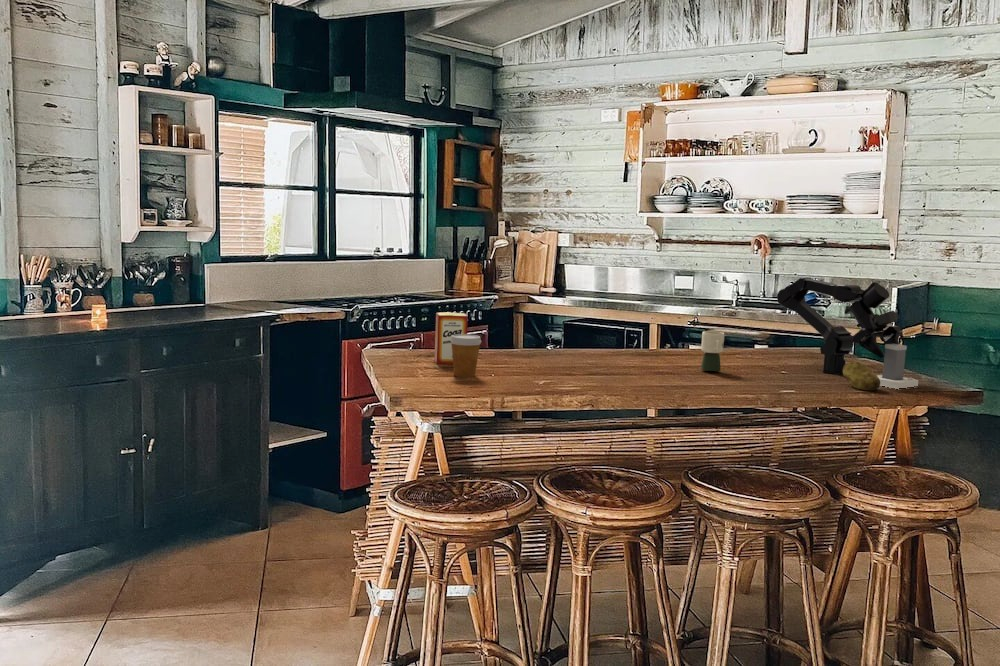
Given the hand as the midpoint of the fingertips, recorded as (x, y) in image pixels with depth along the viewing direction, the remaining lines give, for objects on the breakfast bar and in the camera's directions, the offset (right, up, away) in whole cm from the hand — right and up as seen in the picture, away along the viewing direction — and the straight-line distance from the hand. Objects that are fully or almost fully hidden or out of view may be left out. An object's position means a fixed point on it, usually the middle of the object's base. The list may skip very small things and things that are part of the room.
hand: (891, 356), depth 312 cm
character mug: (-55, -5, +10) cm, 56 cm away
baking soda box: (-141, -2, +8) cm, 141 cm away
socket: (0, -9, 0) cm, 9 cm away
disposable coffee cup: (-135, -6, -14) cm, 136 cm away
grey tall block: (0, -9, 0) cm, 9 cm away
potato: (-13, -10, -7) cm, 18 cm away
